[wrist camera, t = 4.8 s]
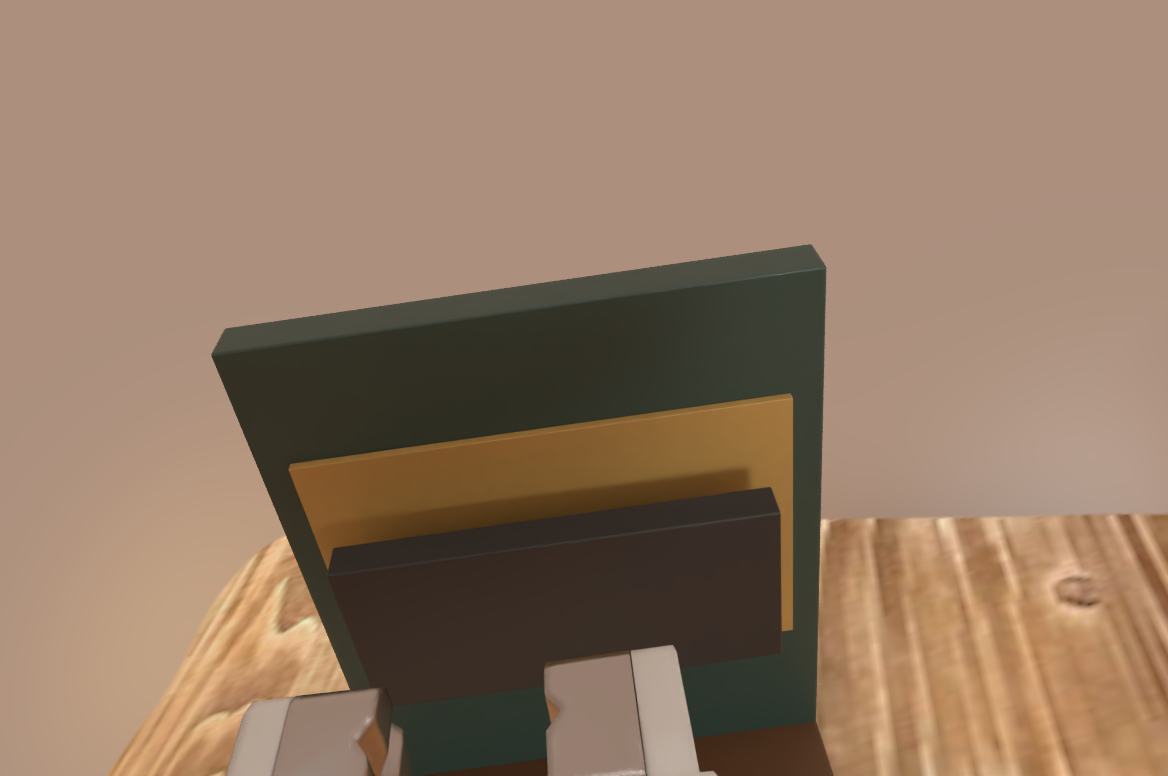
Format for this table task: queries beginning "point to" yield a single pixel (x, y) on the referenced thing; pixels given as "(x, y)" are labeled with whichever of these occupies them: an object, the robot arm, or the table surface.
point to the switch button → (563, 594)
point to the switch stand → (558, 460)
